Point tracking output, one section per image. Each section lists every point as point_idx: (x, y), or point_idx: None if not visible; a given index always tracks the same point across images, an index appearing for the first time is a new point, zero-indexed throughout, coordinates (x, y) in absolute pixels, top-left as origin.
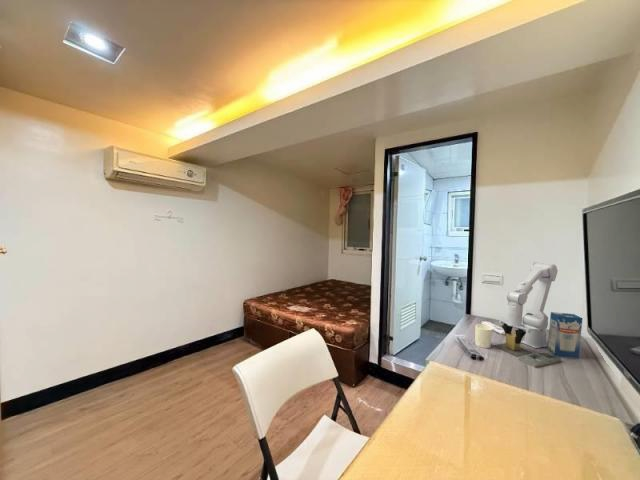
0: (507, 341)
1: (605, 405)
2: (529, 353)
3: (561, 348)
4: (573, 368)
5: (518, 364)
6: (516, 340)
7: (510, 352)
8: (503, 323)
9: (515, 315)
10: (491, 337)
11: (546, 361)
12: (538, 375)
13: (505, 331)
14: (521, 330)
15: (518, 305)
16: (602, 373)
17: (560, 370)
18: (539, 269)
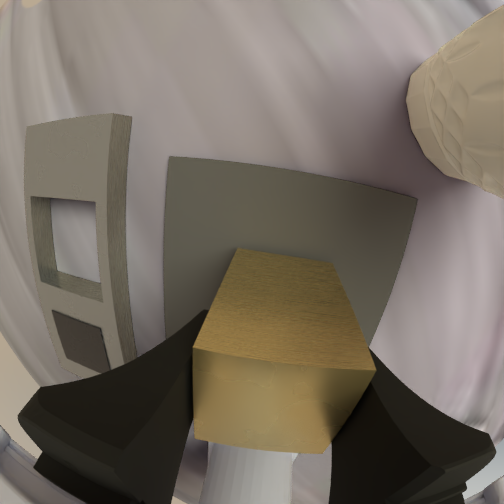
0: (323, 292)
1: None
2: (165, 324)
3: None
4: (28, 322)
5: (104, 46)
6: (199, 329)
7: (240, 183)
8: (465, 501)
9: None
10: (469, 105)
11: (32, 249)
12: (23, 64)
13: (402, 400)
14: (61, 476)
15: None
16: (17, 356)
17: (13, 242)
18: None
